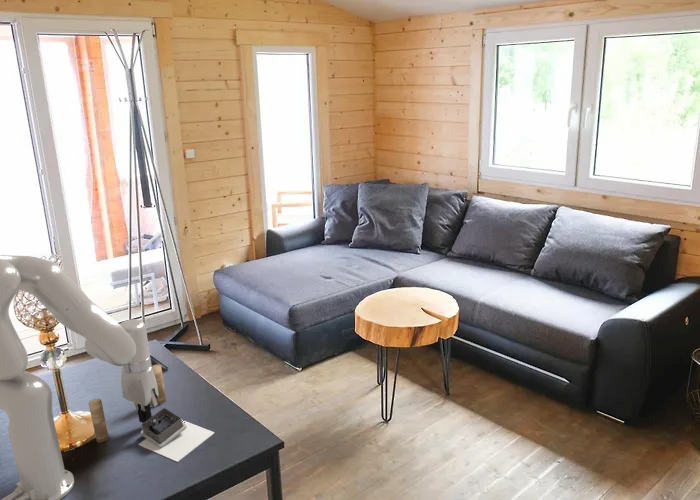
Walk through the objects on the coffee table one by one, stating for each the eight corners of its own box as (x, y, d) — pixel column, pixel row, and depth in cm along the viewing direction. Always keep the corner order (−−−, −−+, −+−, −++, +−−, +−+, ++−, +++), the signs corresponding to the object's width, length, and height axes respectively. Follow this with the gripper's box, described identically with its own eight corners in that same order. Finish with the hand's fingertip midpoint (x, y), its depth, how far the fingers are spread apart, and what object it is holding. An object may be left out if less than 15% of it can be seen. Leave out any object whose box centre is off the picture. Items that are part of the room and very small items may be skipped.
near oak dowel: (101, 443, 157) (93, 406, 153) (94, 440, 158) (86, 403, 154) (111, 437, 159) (103, 400, 155) (103, 434, 161) (96, 397, 157)
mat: (177, 462, 149) (177, 461, 149) (138, 444, 156) (138, 444, 156) (214, 432, 160) (214, 432, 160) (176, 418, 167) (176, 417, 167)
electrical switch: (139, 434, 159) (161, 452, 155) (137, 422, 156) (159, 440, 152) (167, 413, 165) (188, 430, 161) (165, 401, 162) (186, 419, 158)
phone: (149, 354, 204) (169, 368, 194) (149, 356, 204) (169, 371, 194) (127, 362, 199) (147, 377, 188) (128, 364, 199) (147, 380, 189)
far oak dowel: (160, 405, 174) (155, 370, 170) (153, 402, 175) (147, 368, 172) (168, 400, 176) (163, 366, 173) (161, 397, 178) (156, 363, 174)
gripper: (107, 363, 158) (117, 419, 164) (144, 376, 151) (154, 434, 157) (129, 351, 164) (138, 406, 170) (166, 363, 157) (174, 420, 163)
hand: (145, 419), depth 163 cm, fingers closed
